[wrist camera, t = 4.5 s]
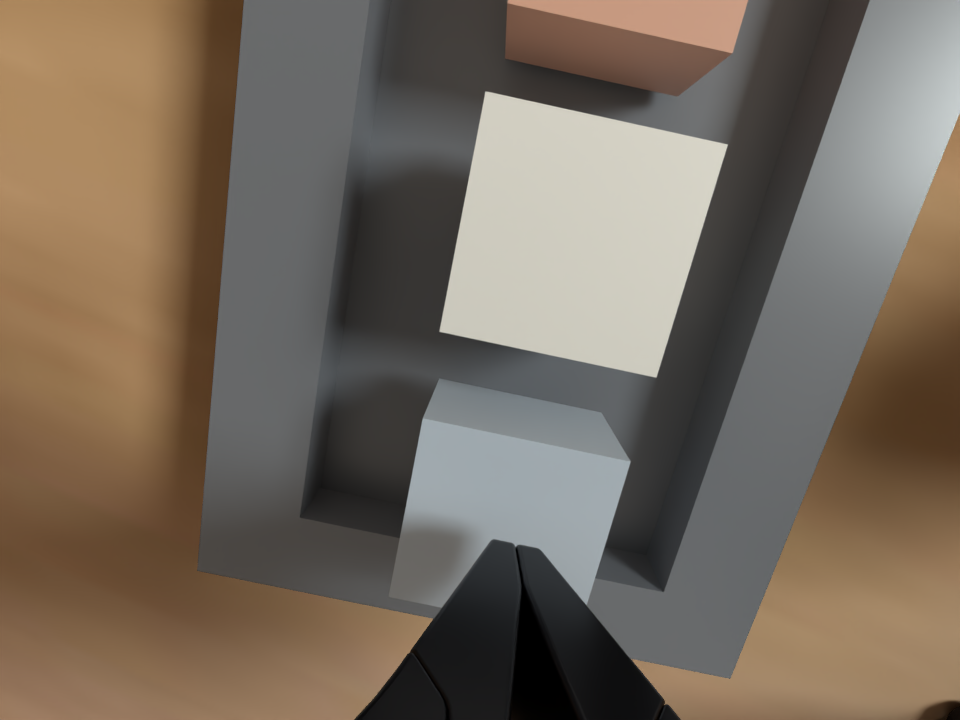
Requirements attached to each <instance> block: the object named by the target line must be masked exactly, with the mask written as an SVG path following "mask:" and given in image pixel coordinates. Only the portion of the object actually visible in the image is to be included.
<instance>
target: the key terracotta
mask: <svg viewBox="0 0 960 720" xmlns="http://www.w3.org/2000/svg"><path fill="white" fill-rule="evenodd" d="M747 3H748V0H508V2H507V21H506V46H505V59H509V60H514V61H518V62H523V63H527V64H532V65H536V66H541V67H545V68H550V69H555V70H559V71H564V72H568V73H573V74H577V75H582V76H586V77H591V78H595V79H600V80H604V81H609V82H613V83H618V84H622V85H627V86H631V87H636V88H640V89H645V90H650V91H654V92H659V93H663V94H668V95H672V96H677V97H678V96H679V95H680V94H681V93H683V92H684V91H685V90H687V89H688V88H689V87H690V86H692V85H693V84H694V83H695V82H697V81H698V80H699V79H701V78H702V77H703V76H704V75H706V74H707V73H708V72H709V71H711V70H712V69H713V68H714V67H716V66H717V65H718V64H720V63H721V62H722V61H723V60H725V59H726V58H727V57H728V56H730V55H731V54H732V53H733V50H734V47H735V43H736V40H737V36H738V33H739V30H740V26H741V23H742V20H743V16H744V13H745V9H746V6H747Z"/></svg>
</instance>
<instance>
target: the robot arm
mask: <svg viewBox="0 0 960 720" xmlns="http://www.w3.org/2000/svg"><path fill="white" fill-rule="evenodd" d="M664 704H665V701H664V699H663V698H662V696H661V695H660V694H659V693H658V692H657V690H656V689H655V688H654V687H653V685H652V684H651V683H650V682H649V681H648V679H647V678H646V677H645V676H644V675H643V673H642V672H641V671H640V670H639V668H638V667H637V666H636V665H635V664H634V662H633V661H632V660H631V659H630V658H629V656H628V655H627V654H626V653H625V651H624V650H623V649H622V648H621V647H620V645H619V644H618V643H617V642H616V641H615V639H614V638H613V637H612V636H611V634H610V633H609V632H608V631H607V630H606V628H605V627H604V626H603V625H602V623H601V622H600V621H599V620H598V619H597V617H596V616H595V615H594V614H593V613H592V611H591V610H590V609H589V608H588V606H587V605H586V604H585V603H584V602H583V600H582V599H581V598H580V597H579V596H578V594H577V593H576V592H575V591H574V589H573V588H572V587H571V586H570V585H569V583H568V582H567V581H566V580H565V579H564V577H563V576H562V575H561V574H560V572H559V571H558V570H557V569H556V568H555V566H554V565H553V564H552V563H551V561H550V560H549V559H548V558H547V557H546V555H545V554H544V553H543V552H542V551H541V550H540V549H539V548H536V547H531V546H526V545H517V546H516V547H515V545H514V544H513V543H511V542H506V541H501V540H496V539H493V540H491V541H490V542H489V543H488V545H487V546H486V547H485V549H484V550H483V552H482V553H481V554H480V556H479V557H478V558H477V560H476V561H475V563H474V564H473V565H472V567H471V568H470V570H469V571H468V572H467V574H466V575H465V576H464V578H463V579H462V581H461V582H460V583H459V585H458V586H457V587H456V589H455V590H454V592H453V593H452V594H451V596H450V597H449V598H448V600H447V601H446V603H445V604H444V605H443V607H442V608H441V609H440V611H439V612H438V614H437V615H436V616H435V618H434V619H433V620H432V622H431V623H430V625H429V626H428V627H427V629H426V630H425V631H424V633H423V634H422V636H421V637H420V638H419V640H418V641H417V643H416V644H415V645H414V647H413V648H412V649H411V651H410V653H409V654H407V656H406V657H405V659H404V660H403V661H402V663H401V664H400V665H399V667H398V668H397V670H396V671H395V672H394V673H393V675H392V676H391V677H390V679H389V680H388V681H387V682H386V684H385V685H384V686H383V687H382V689H381V690H380V691H379V692H378V694H377V695H376V696H375V697H374V699H373V700H372V701H371V702H370V703H369V704H368V705H367V706H366V707H365V708H364V709H363V711H362V712H361V713H360V714H359V715H358V716H357V717H356V718H355V719H354V720H681V719H680V718H679V717H678V716H677V714H676V713H675V712H674V711H673V710H672V708H671V707H670V706H669V705H664ZM946 720H960V707H958V708H956V709H954V710H953V711H952V712H951V713H950V714H949V715H948V717H947V719H946Z"/></svg>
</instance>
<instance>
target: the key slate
mask: <svg viewBox="0 0 960 720" xmlns="http://www.w3.org/2000/svg"><path fill="white" fill-rule="evenodd" d="M630 462H631V461H630V460H629V458H628V456H627V455H626V453H625V451H624V450H623V448H622V446H621V445H620V443H619V441H618V440H617V438H616V436H615V435H614V433H613V431H612V429H611V428H610V426H609V424H608V423H607V421H606V419H605V418H604V416H603V414H602V413H601V412H596V411H592V410H587V409H582V408H577V407H573V406H568V405H563V404H558V403H554V402H549V401H544V400H539V399H535V398H530V397H525V396H520V395H516V394H511V393H506V392H501V391H496V390H492V389H487V388H482V387H477V386H473V385H468V384H463V383H458V382H454V381H449V380H444V379H439V381H438V383H437V385H436V388H435V390H434V393H433V395H432V397H431V400H430V402H429V405H428V407H427V409H426V412H425V414H424V417H423V420H422V425H421V430H420V435H419V441H418V446H417V451H416V456H415V461H414V467H413V472H412V477H411V482H410V488H409V493H408V498H407V503H406V508H405V514H404V519H403V524H402V529H401V534H400V540H399V545H398V550H397V555H396V560H395V566H394V571H393V576H392V581H391V586H390V592H389V597H392V598H396V599H401V600H406V601H411V602H416V603H421V604H426V605H431V606H436V607H441V608H442V607H443V605H444V604H445V603H446V601H447V600H448V598H449V597H450V596H451V594H452V593H453V592H454V590H455V589H456V587H457V586H458V585H459V583H460V582H461V581H462V579H463V578H464V576H465V575H466V574H467V572H468V571H469V570H470V568H471V567H472V565H473V564H474V563H475V561H476V560H477V558H478V557H479V556H480V554H481V553H482V552H483V550H484V549H485V547H486V546H487V545H488V543H489V542H490V541H491V540H493V539H496V540H501V541H506V542H511V543H513V544H514V545H515V547H516V546H517V545H526V546H531V547H536V548H539V549H540V550H541V551H542V552H543V553H544V554H545V555H546V557H547V558H548V559H549V560H550V561H551V563H552V564H553V565H554V566H555V568H556V569H557V570H558V571H559V572H560V574H561V575H562V576H563V577H564V579H565V580H566V581H567V582H568V583H569V585H570V586H571V587H572V588H573V589H574V591H575V592H576V593H577V594H578V596H579V597H580V598H581V599H582V600H583V602H584V603H585V604H586V605H587V603H588V599H589V596H590V593H591V590H592V586H593V583H594V580H595V576H596V573H597V570H598V567H599V563H600V560H601V557H602V554H603V550H604V547H605V544H606V541H607V537H608V534H609V531H610V528H611V524H612V521H613V518H614V515H615V511H616V508H617V505H618V501H619V498H620V495H621V492H622V488H623V485H624V482H625V479H626V475H627V472H628V469H629V466H630Z"/></svg>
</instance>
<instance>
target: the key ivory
mask: <svg viewBox="0 0 960 720" xmlns="http://www.w3.org/2000/svg"><path fill="white" fill-rule="evenodd" d="M727 146H728V144H723V143H719V142H714V141H709V140H705V139H700V138H696V137H691V136H687V135H682V134H678V133H673V132H669V131H664V130H659V129H655V128H650V127H646V126H641V125H637V124H632V123H628V122H623V121H618V120H614V119H609V118H605V117H600V116H596V115H591V114H587V113H582V112H577V111H573V110H568V109H564V108H559V107H555V106H550V105H546V104H541V103H537V102H532V101H527V100H523V99H518V98H514V97H509V96H505V95H500V94H496V93H491V92H485V97H484V102H483V107H482V113H481V118H480V123H479V128H478V133H477V139H476V144H475V149H474V154H473V159H472V165H471V170H470V175H469V180H468V185H467V191H466V196H465V201H464V206H463V211H462V217H461V222H460V227H459V232H458V238H457V243H456V248H455V253H454V258H453V264H452V269H451V274H450V279H449V284H448V290H447V295H446V300H445V305H444V310H443V316H442V321H441V326H440V331H439V332H443V333H448V334H453V335H457V336H462V337H467V338H471V339H476V340H481V341H486V342H490V343H495V344H500V345H505V346H509V347H514V348H519V349H523V350H528V351H533V352H538V353H542V354H547V355H552V356H556V357H561V358H566V359H571V360H575V361H580V362H585V363H590V364H594V365H599V366H604V367H608V368H613V369H618V370H623V371H627V372H632V373H637V374H641V375H646V376H651V377H657V374H658V371H659V368H660V364H661V361H662V358H663V355H664V351H665V348H666V345H667V342H668V338H669V335H670V332H671V329H672V325H673V322H674V319H675V315H676V312H677V309H678V306H679V302H680V299H681V296H682V293H683V289H684V286H685V283H686V280H687V276H688V273H689V270H690V267H691V263H692V260H693V257H694V254H695V250H696V247H697V244H698V240H699V237H700V234H701V231H702V227H703V224H704V221H705V218H706V214H707V211H708V208H709V205H710V201H711V198H712V195H713V192H714V188H715V185H716V182H717V178H718V175H719V172H720V169H721V165H722V162H723V159H724V156H725V152H726V149H727Z"/></svg>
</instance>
